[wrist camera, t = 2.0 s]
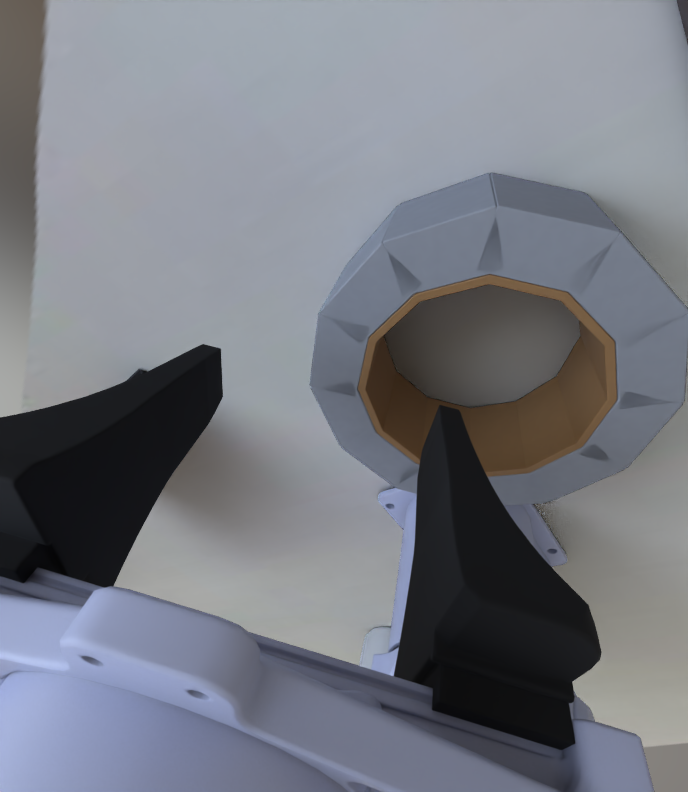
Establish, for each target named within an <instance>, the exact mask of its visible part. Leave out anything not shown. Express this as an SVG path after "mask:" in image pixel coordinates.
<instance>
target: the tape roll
mask: <svg viewBox="0 0 688 792" xmlns="http://www.w3.org/2000/svg"><path fill="white" fill-rule="evenodd" d="M488 284H491V285H495V286H499V287H504V288H508V289H512V290H517V291H521V292H525V293H530V294H534V295H538V296H542V297H547V298H551V299H555V300H560V301H561V302H562V303H563V304H564V305H565V306H566V307H567V308H568V309H569V310H570V311H571V312H572V313H573V314H574V315H575V316H576V317H577V318H578V319H579V325H580V337H579V339H578V341H577V342H576V344H575V346H574V348H573V349H572V351H571V353H570V354H569V356H568V358H567V359H566V361H565V363H564V365H563V366H562V368H561V370H560V371H559V373H558V375H557V376H556V377H554V378H553V379H551V380H550V381H548V382H546V383H545V384H543V385H542V386H540V387H538V388H537V389H535V390H533V391H532V392H530V393H529V394H527V395H525V396H524V397H522V398H521V399H519V400H517V401H515V402H508V403H501V404H494V405H488V406H481V407H474V408H468V407H464V406H460V405H456V404H452V403H448V402H444V401H440V400H436V399H432V398H428V397H427V396H425V395H424V394H423V393H422V392H421V391H419V390H418V389H417V388H416V387H415V386H413V385H412V384H411V383H410V382H409V381H407V380H406V379H405V378H404V377H403V376H401V375H400V374H399V373H398V372H397V371H396V369H395V367H394V364H393V361H392V358H391V356H390V353H389V350H388V347H387V344H386V342H385V339H384V335H385V334H386V333H387V332H388V331H389V330H390V329H391V328H392V327H393V326H394V325H395V324H397V323H398V322H399V321H400V320H401V319H402V318H403V317H404V316H405V315H406V314H407V313H408V312H410V311H411V310H412V309H413V308H414V307H415V306H416V305H417V304H418V303H419V302H421V301H425V300H429V299H433V298H436V297H440V296H444V295H448V294H452V293H456V292H460V291H464V290H468V289H472V288H476V287H480V286H484V285H488ZM687 358H688V308H687V307H686V306H685V305H684V303H683V302H682V301H681V300H680V299H679V298H678V296H677V295H676V294H675V293H674V292H673V291H672V290H671V288H670V287H669V286H668V285H667V284H666V283H665V281H664V280H663V279H662V278H661V277H660V276H659V275H658V273H657V272H656V271H655V270H654V269H653V268H652V266H651V265H650V264H649V263H648V262H647V261H646V259H645V258H644V257H643V256H642V255H641V254H640V253H639V251H638V250H637V249H636V248H635V247H634V246H633V244H632V243H631V242H630V241H629V240H628V239H627V238H626V236H625V235H624V234H623V233H622V232H621V231H620V230H619V229H618V227H617V226H616V225H615V224H614V223H613V222H612V221H611V220H610V219H609V218H608V216H607V215H606V214H605V213H604V212H603V211H602V210H601V209H600V208H599V206H598V205H597V204H596V203H595V202H594V201H593V200H592V199H591V198H590V197H589V195H588V194H585V193H584V192H580V191H575V190H571V189H566V188H561V187H557V186H552V185H547V184H543V183H538V182H533V181H528V180H524V179H519V178H514V177H510V176H505V175H500V174H496V173H490V174H489V173H487V174H484V175H481V176H478V177H475V178H473V179H470V180H467V181H464V182H461V183H458V184H455V185H452V186H450V187H447V188H444V189H441V190H438V191H435V192H432V193H429V194H427V195H424V196H421V197H418V198H415V199H412V200H409V201H406V202H404V203H401V204H400V205H398V206H397V207H396V208H395V209H394V210H393V211H392V213H391V214H390V215H389V216H388V217H387V218H386V220H385V221H384V222H383V223H382V224H381V225H380V227H379V228H378V229H377V230H376V231H375V232H374V234H373V235H372V236H371V237H370V238H369V239H368V240H367V242H366V243H365V244H364V245H363V246H362V247H361V249H360V250H359V251H358V252H357V253H356V254H355V256H354V257H353V258H352V259H351V260H350V261H349V263H348V264H347V265H346V266H345V268H344V270H343V272H342V273H341V275H340V277H339V279H338V280H337V282H336V284H335V285H334V287H333V289H332V291H331V292H330V294H329V296H328V298H327V299H326V301H325V303H324V304H323V306H322V308H321V310H320V312H319V313H318V321H317V329H316V337H315V345H314V353H313V361H312V369H311V377H310V386H311V390H312V392H313V394H314V396H315V398H316V400H317V402H318V404H319V406H320V408H321V410H322V412H323V414H324V416H325V418H326V420H327V422H328V424H329V426H330V428H331V430H332V432H333V434H334V436H335V438H336V440H337V442H338V444H339V445H340V446H341V448H342V449H344V450H345V451H346V452H348V453H349V454H350V455H352V456H353V457H354V458H356V459H357V460H359V461H360V462H361V463H363V464H364V465H365V466H367V467H368V468H369V469H371V470H372V471H373V472H375V473H376V474H377V475H379V476H380V477H381V478H383V479H384V480H386V481H387V482H388V483H390V484H391V485H392V486H394V487H396V488H397V489H400V490H404V491H408V492H411V493H415V494H417V477H418V471H419V465H420V459H421V453H422V449H423V446H424V443H425V441H426V438H427V436H428V433H429V430H430V428H431V425H432V423H433V420H434V418H435V415H436V412H437V410H438V407H439V405H443V406H447V407H451V408H455V409H458V410H459V411H460V412H461V415H462V418H463V421H464V424H465V426H466V429H467V432H468V434H469V437H470V440H471V442H472V444H473V447H474V449H475V452H476V454H477V456H478V458H479V460H480V463H481V465H482V467H483V469H484V471H485V473H486V475H487V477H488V479H489V481H490V483H491V484H492V486H493V488H494V490H495V492H496V493H497V495H498V497H499V499H500V500H501V502H502V503H503V505H504V506H507V505H523V504H540V503H547V502H551V501H553V500H556V499H558V498H560V497H562V496H565V495H567V494H569V493H572V492H574V491H576V490H579V489H581V488H583V487H586V486H588V485H590V484H593V483H595V482H597V481H599V480H602V479H604V478H606V477H609V476H611V475H613V474H616V473H618V472H620V471H623V470H624V469H625V468H628V467H629V466H630V465H631V463H632V462H633V461H634V460H635V459H636V458H637V457H638V455H639V454H640V453H641V452H642V451H643V450H644V448H645V447H646V446H647V445H648V444H649V443H650V442H651V440H652V439H653V438H654V437H655V436H656V435H657V434H658V432H659V431H660V430H661V429H662V428H663V427H664V425H665V424H666V423H667V422H668V421H669V420H670V419H671V417H672V416H673V415H674V414H675V413H676V412H677V411H678V409H679V408H680V407H681V406H682V405H683V402H684V401H685V388H686V373H687Z"/></svg>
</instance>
